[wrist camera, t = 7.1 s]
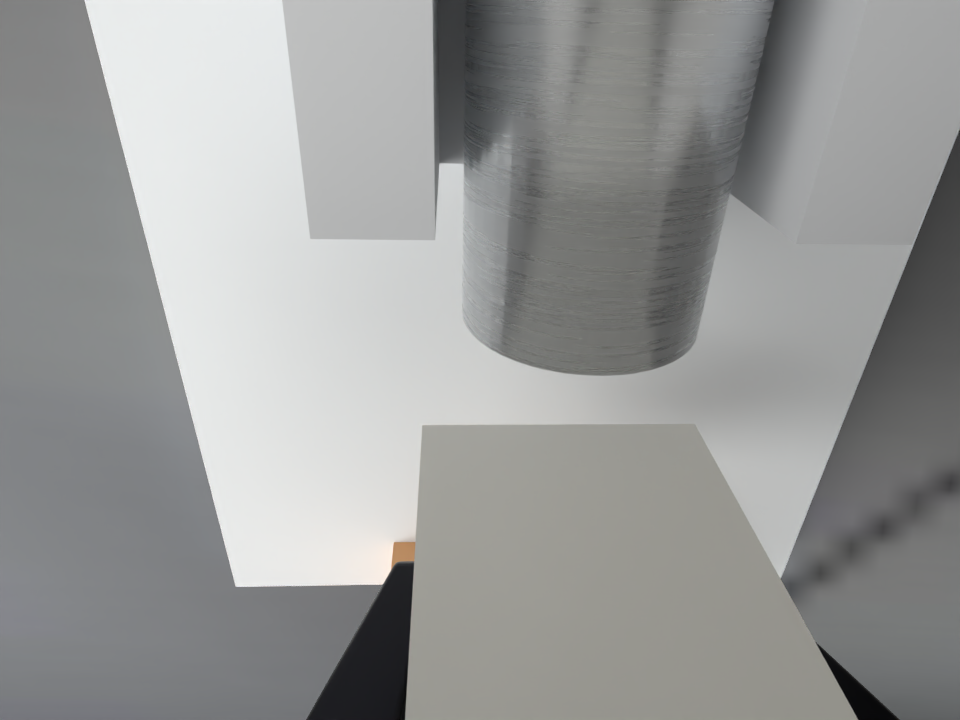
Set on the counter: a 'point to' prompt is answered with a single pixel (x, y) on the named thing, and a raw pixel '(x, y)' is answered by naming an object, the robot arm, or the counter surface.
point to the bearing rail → (439, 257)
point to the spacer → (598, 584)
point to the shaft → (600, 173)
